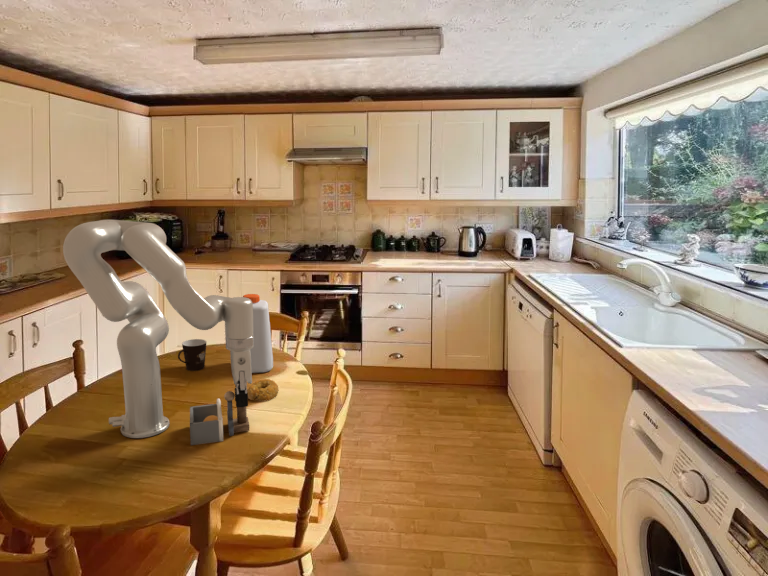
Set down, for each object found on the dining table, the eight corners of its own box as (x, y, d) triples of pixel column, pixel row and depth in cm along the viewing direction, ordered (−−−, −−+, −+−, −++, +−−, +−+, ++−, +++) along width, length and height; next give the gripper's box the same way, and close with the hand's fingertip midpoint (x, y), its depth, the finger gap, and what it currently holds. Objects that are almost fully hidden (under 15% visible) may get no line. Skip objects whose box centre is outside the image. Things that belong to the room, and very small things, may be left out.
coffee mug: (202, 362, 202) (201, 337, 200) (211, 368, 195) (210, 343, 193) (171, 368, 194) (170, 343, 192) (179, 375, 188) (178, 349, 186)
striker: (226, 436, 144) (224, 396, 142) (224, 423, 152) (223, 385, 150) (250, 433, 146) (249, 394, 144) (247, 420, 154) (246, 382, 152)
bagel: (240, 394, 174) (240, 380, 173) (272, 388, 180) (272, 375, 179) (250, 405, 166) (250, 391, 165) (283, 398, 172) (283, 385, 171)
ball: (225, 426, 145) (213, 440, 145) (224, 418, 150) (212, 431, 150) (210, 416, 143) (198, 430, 143) (210, 409, 148) (198, 422, 148)
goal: (190, 445, 140) (189, 419, 138) (191, 425, 151) (189, 401, 149) (223, 441, 142) (222, 415, 141) (221, 422, 153) (220, 398, 152)
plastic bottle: (273, 373, 193) (272, 299, 187) (230, 375, 190) (228, 300, 184) (273, 359, 207) (271, 290, 202) (233, 361, 204) (231, 291, 198)
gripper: (256, 350, 138) (258, 414, 142) (250, 332, 153) (251, 391, 157) (227, 352, 136) (229, 417, 139) (223, 334, 151) (226, 393, 154)
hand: (241, 403), depth 148 cm, fingers closed on striker, 3 cm apart
